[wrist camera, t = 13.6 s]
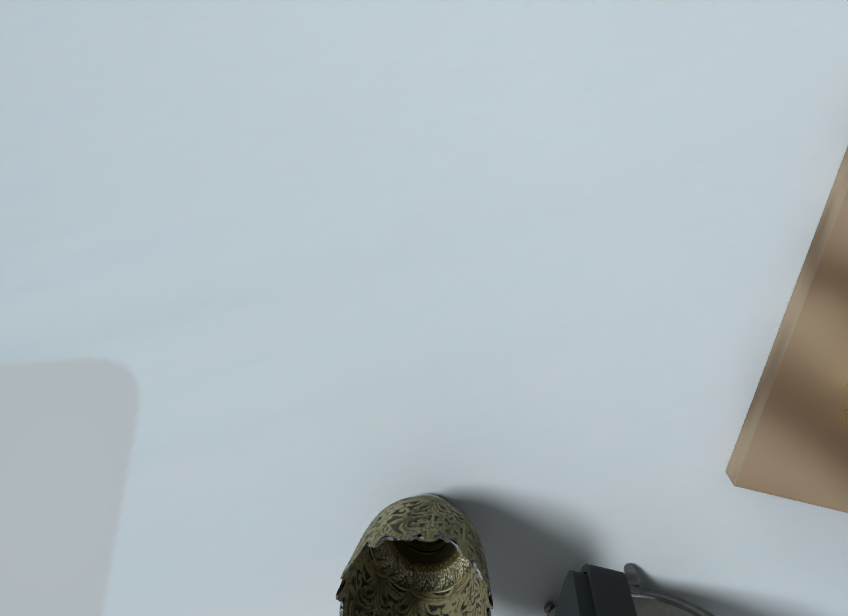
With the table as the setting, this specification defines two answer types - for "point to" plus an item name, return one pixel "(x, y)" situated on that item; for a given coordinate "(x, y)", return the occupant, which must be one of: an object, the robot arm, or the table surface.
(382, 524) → the cup
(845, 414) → the brass gear
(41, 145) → the table surface
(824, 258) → the gear board
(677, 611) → the alarm clock
